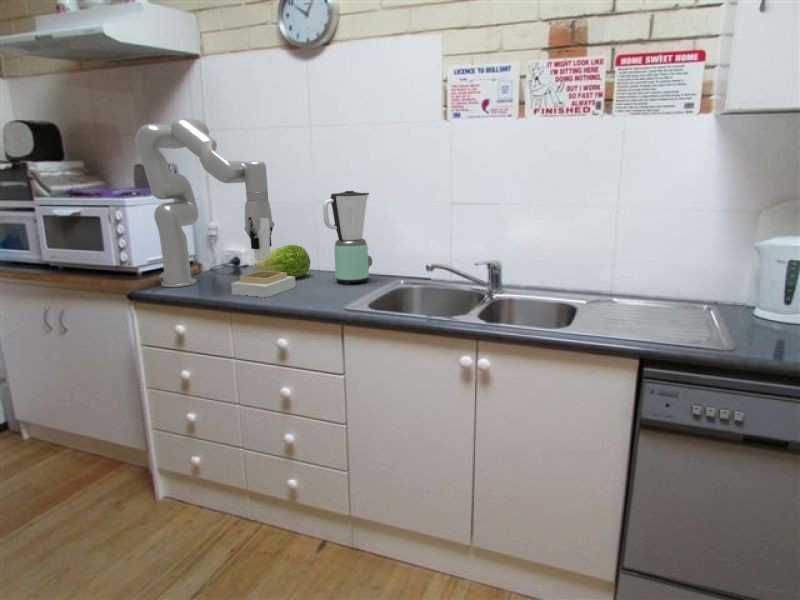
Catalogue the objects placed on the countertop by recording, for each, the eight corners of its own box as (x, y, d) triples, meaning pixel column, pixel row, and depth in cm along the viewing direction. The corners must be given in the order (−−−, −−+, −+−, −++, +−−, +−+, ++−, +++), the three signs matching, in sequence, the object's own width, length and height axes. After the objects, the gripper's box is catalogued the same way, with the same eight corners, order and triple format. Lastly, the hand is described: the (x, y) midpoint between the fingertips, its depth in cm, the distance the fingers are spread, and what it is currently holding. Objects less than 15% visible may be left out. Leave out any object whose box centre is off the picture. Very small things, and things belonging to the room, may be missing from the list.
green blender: (363, 276, 221) (360, 189, 212) (379, 282, 209) (377, 191, 201) (320, 281, 211) (316, 191, 203) (334, 288, 200) (330, 193, 191)
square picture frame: (232, 294, 193) (230, 277, 192) (265, 283, 210) (264, 268, 209) (266, 297, 187) (264, 280, 186) (297, 286, 204) (296, 270, 203)
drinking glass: (267, 260, 191) (263, 218, 188) (249, 260, 193) (246, 218, 189) (275, 257, 198) (272, 216, 194) (258, 257, 199) (254, 216, 196)
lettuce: (269, 273, 234) (259, 244, 229) (318, 269, 225) (309, 238, 220) (250, 288, 221) (240, 257, 216) (301, 283, 212) (291, 251, 207)
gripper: (264, 195, 199) (267, 243, 203) (232, 198, 184) (237, 250, 188) (280, 195, 196) (284, 244, 200) (250, 198, 181) (254, 251, 185)
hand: (261, 247), depth 194 cm, fingers closed on drinking glass, 6 cm apart
